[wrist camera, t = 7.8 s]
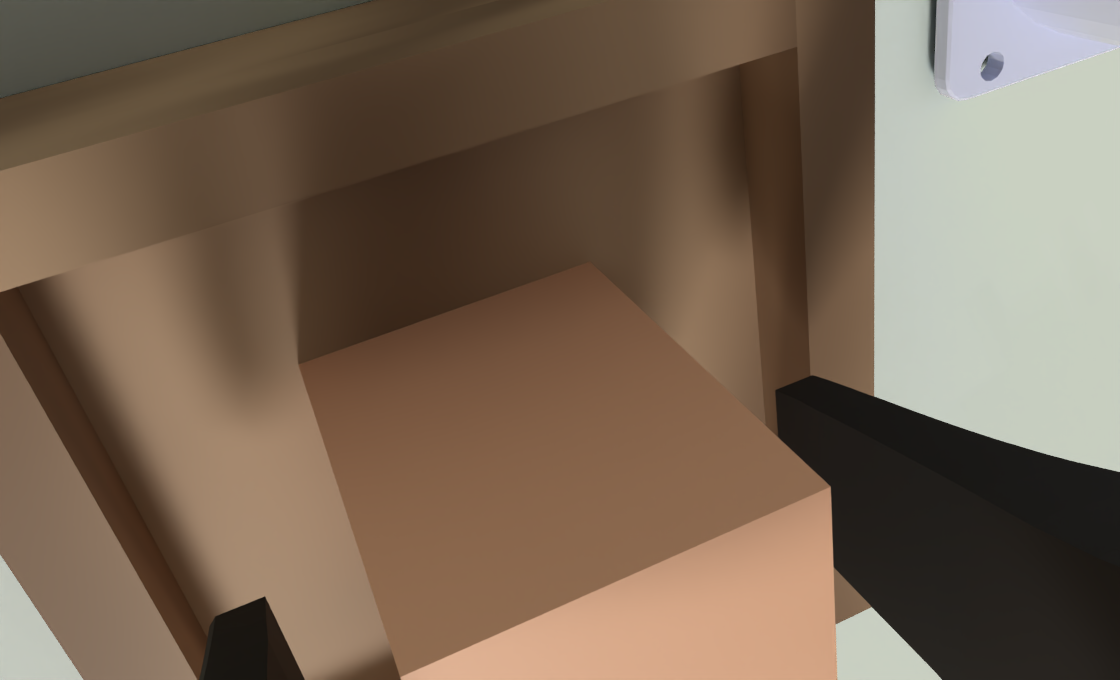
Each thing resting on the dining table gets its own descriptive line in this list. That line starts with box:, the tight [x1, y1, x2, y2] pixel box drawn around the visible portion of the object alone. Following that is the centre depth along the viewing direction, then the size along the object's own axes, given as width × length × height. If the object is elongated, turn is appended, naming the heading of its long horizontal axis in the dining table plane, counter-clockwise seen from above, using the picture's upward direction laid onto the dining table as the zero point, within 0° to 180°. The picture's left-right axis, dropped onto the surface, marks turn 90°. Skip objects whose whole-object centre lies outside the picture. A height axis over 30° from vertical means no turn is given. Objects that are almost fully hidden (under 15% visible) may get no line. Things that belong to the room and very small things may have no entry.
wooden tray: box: [0, 0, 875, 680], centre depth 15 cm, size 12×12×4 cm
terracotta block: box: [299, 262, 837, 680], centre depth 13 cm, size 4×4×6 cm
